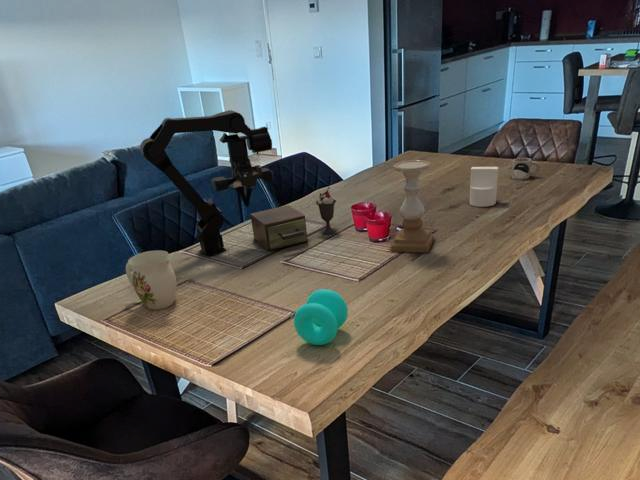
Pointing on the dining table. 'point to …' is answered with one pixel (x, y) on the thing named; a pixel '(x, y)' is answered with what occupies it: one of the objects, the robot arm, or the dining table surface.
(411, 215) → the candle holder
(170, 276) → the pitcher
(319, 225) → the dining table surface
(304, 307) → the teal spool
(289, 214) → the cabinet
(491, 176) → the cylinder with rectangular tab
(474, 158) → the dining table surface
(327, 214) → the sundae
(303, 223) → the drawer
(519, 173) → the mug
